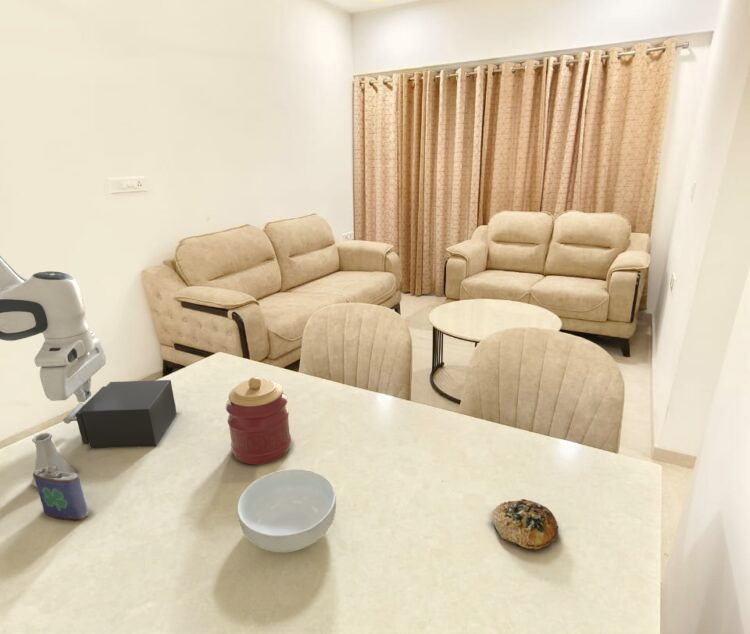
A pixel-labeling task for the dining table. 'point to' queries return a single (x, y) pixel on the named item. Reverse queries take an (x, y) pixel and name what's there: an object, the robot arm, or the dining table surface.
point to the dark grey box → (129, 414)
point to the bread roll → (525, 523)
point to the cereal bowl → (287, 510)
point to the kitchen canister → (258, 421)
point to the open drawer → (80, 417)
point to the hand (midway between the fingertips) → (84, 399)
